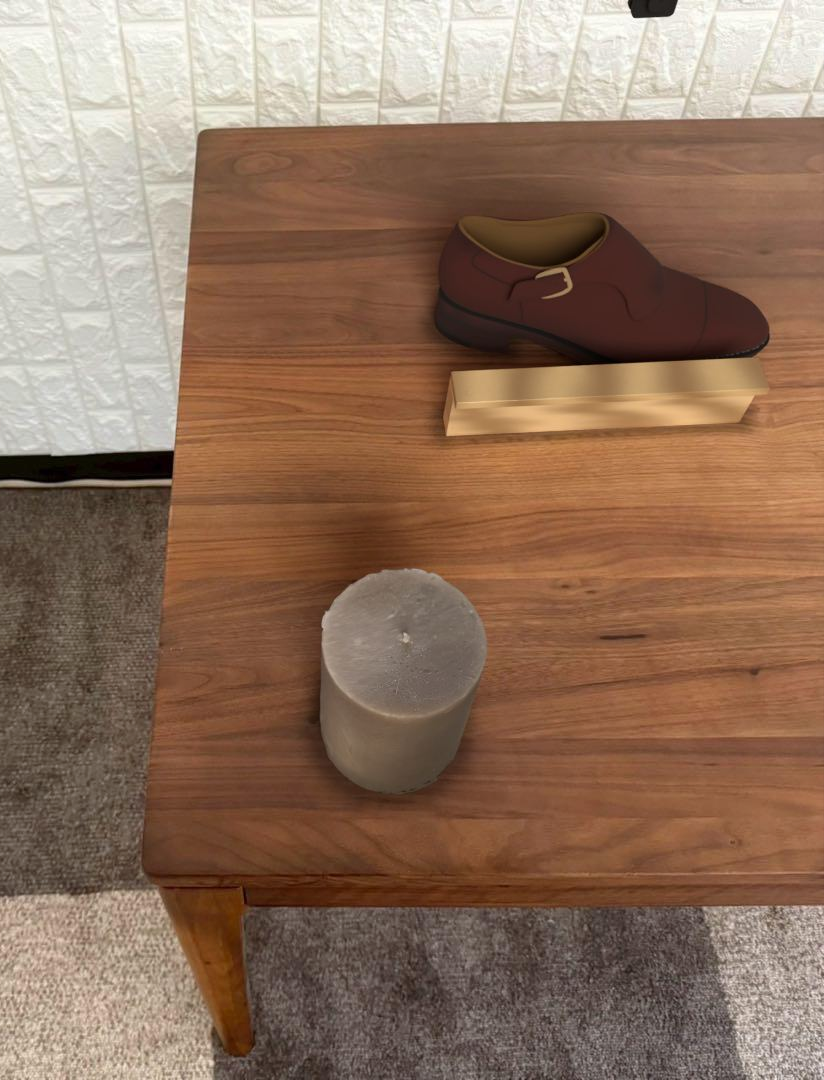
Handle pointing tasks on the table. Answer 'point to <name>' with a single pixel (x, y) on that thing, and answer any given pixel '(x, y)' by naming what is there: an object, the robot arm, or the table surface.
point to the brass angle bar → (602, 396)
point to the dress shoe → (584, 294)
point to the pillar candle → (398, 678)
